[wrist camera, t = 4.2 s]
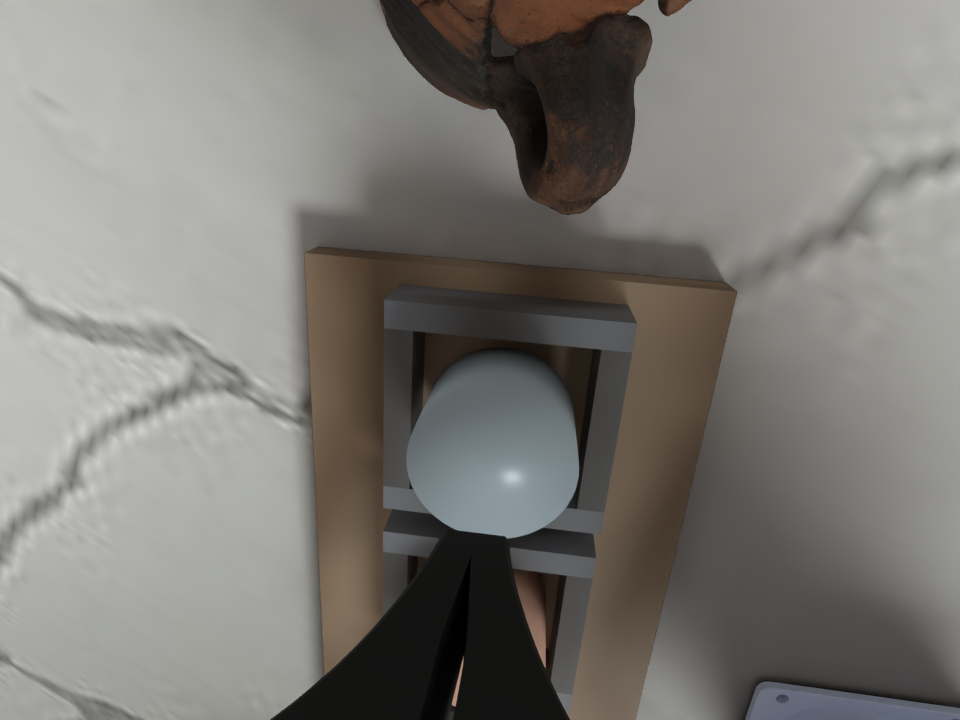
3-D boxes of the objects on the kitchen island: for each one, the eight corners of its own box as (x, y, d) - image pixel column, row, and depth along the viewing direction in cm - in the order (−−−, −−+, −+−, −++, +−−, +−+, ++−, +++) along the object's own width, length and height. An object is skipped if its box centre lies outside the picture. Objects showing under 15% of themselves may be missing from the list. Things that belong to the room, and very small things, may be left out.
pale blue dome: (583, 355, 18) (590, 398, 15) (564, 486, 20) (567, 548, 17) (430, 340, 18) (407, 379, 15) (425, 469, 20) (404, 528, 17)
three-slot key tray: (725, 282, 19) (758, 309, 16) (609, 791, 29) (616, 866, 26) (317, 246, 20) (278, 265, 17) (337, 748, 30) (313, 816, 27)
